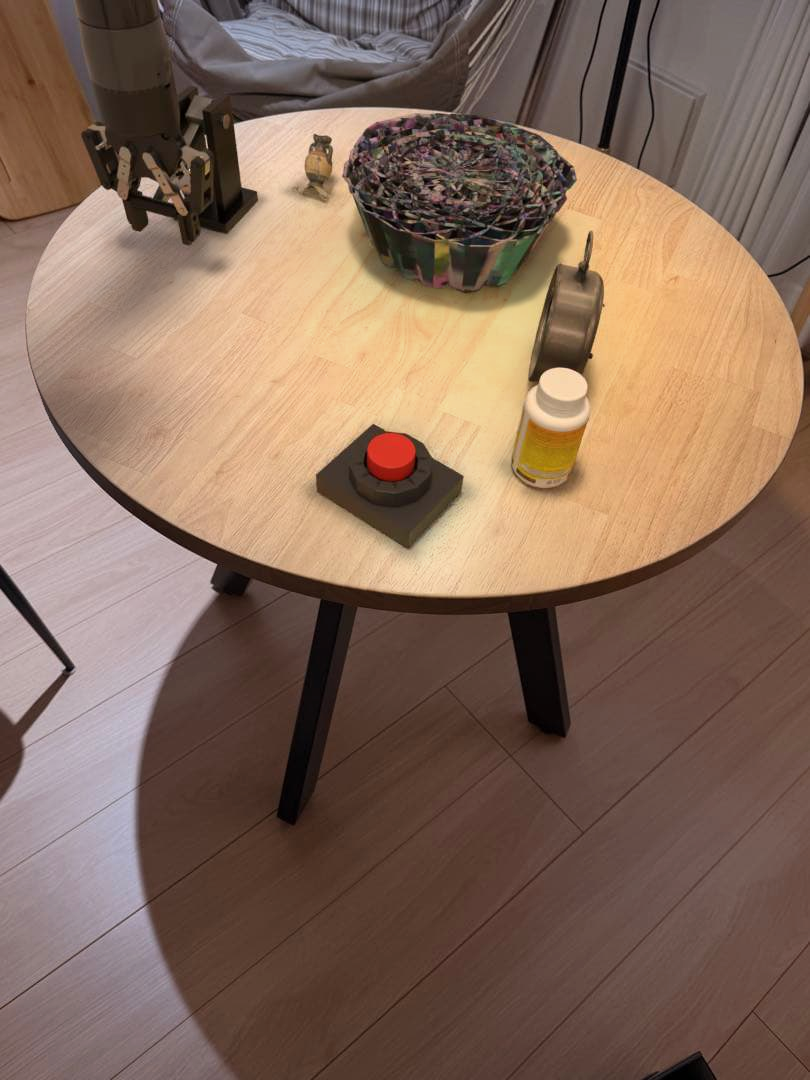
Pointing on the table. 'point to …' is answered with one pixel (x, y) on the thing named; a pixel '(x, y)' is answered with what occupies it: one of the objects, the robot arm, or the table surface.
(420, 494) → the control block
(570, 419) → the supplement bottle
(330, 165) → the vase
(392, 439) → the button
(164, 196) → the lever
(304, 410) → the table surface
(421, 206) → the decorative bowl
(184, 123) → the bracket
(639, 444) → the table surface
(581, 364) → the alarm clock
